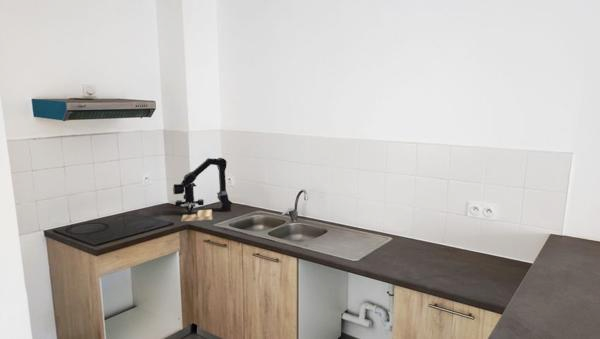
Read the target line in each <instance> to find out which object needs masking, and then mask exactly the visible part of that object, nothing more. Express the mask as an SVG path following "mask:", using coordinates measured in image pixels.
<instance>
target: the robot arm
mask: <svg viewBox="0 0 600 339" xmlns="http://www.w3.org/2000/svg"><path fill="white" fill-rule="evenodd" d="M227 164H228V163H227V160H226V159H225V158H223V157H218V158H209V157H208V158H206V159H205V161H203V162H202V163H201V164H200V165H199V166H197V167H196V168H195V169H194V170H192V171H190V172H188V173H186V174H185V175H184V177H183V180H182V181H181V183H177V184H176V183H174V184H173V187H172V193H173V195H182V194H183V200H185V201H183V200H182V199H180V200H175V203H174V206H175V207H181V206H182V205H183V207H184V208H186V210H187V213H188V214H189V215H191V214H192V212H193V210H194V207H196V205H198V206H204V202H205V201H204V199H201V198H200V199H197V200H195V196H194V195H195V192H194V187H197V184H195V183H194V182H195V180H196V179H197V177H198V176H199V175H200V174H201V173H203V172H204V171H205V170H206V169H207V168H208V167H209V166H211V165H213V166H216V167H217V170H218V182H219V192H217V193H216V194H217V199H218V201H219V202H220V204H221V205H220V211H221V212H222V213H229V212H232V201H231V200H229V196H228V192H227V187H226V168H227Z"/></svg>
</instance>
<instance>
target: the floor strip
mask: <svg viewBox="0 0 600 339" xmlns="http://www.w3.org/2000/svg"><path fill="white" fill-rule="evenodd" d="M209 220H210V221H212V220H213V215H212V216H207V217H198V216H197V217H189V218H182V217H181V221H180V222H193V221H194V222H195V221H209Z"/></svg>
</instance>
